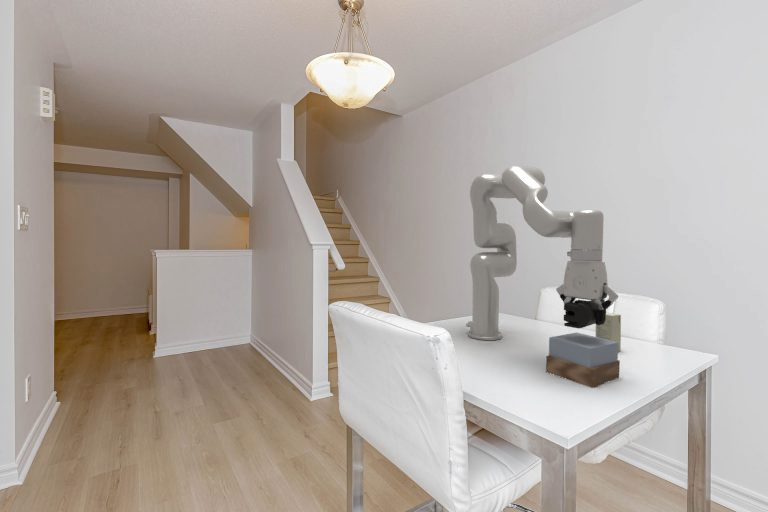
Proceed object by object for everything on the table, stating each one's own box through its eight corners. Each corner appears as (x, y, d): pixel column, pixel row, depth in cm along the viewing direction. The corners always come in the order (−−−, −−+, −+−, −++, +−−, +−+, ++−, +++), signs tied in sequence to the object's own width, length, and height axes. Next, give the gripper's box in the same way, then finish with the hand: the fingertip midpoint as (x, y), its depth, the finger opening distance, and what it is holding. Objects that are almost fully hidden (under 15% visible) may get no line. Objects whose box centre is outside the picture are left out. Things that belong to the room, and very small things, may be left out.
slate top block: (548, 355, 107) (549, 337, 107) (576, 349, 113) (576, 332, 113) (589, 368, 97) (590, 348, 97) (617, 360, 103) (618, 342, 102)
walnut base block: (546, 373, 107) (546, 355, 107) (572, 365, 114) (573, 348, 114) (592, 389, 96) (593, 369, 96) (619, 378, 103) (619, 360, 103)
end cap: (589, 331, 99) (590, 304, 98) (562, 326, 104) (563, 301, 104) (606, 325, 105) (606, 300, 105) (579, 320, 110) (580, 297, 110)
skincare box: (621, 351, 126) (622, 314, 125) (611, 353, 124) (612, 315, 124) (603, 346, 132) (604, 311, 131) (594, 348, 130) (595, 312, 130)
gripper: (548, 255, 109) (547, 317, 110) (613, 258, 94) (610, 329, 95) (564, 254, 113) (562, 314, 114) (628, 257, 98) (625, 325, 99)
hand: (584, 321), depth 105 cm, fingers closed on end cap, 7 cm apart
